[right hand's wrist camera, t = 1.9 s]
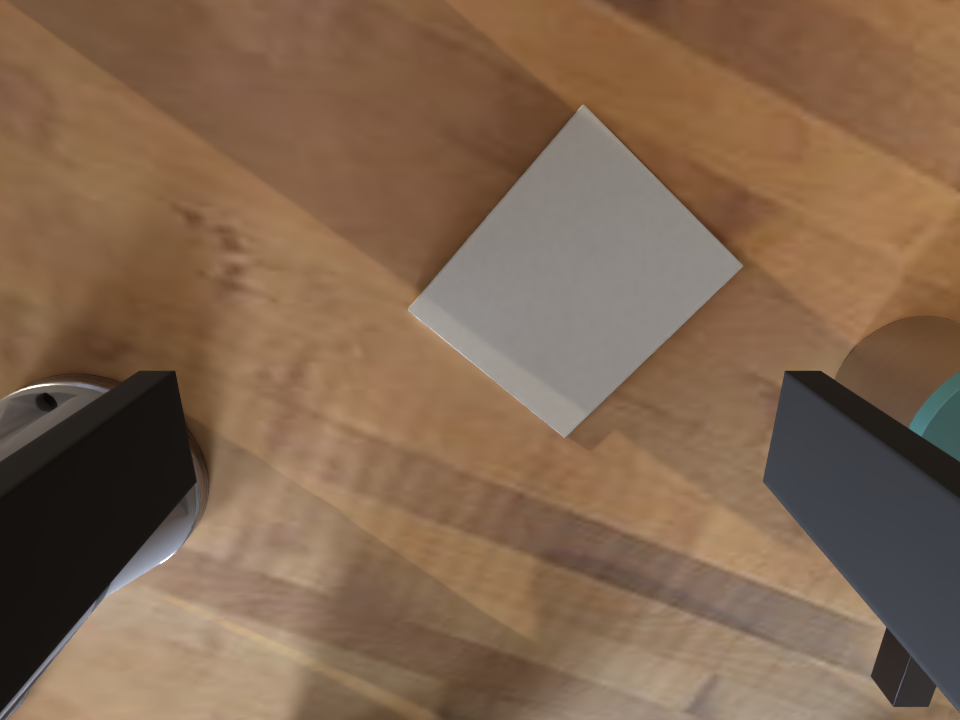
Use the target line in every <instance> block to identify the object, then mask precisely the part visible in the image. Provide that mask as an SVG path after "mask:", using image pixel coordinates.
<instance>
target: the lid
mask: <svg viewBox="0 0 960 720" xmlns="http://www.w3.org/2000/svg"><path fill="white" fill-rule="evenodd" d="M908 428H909V429H910V430H912V431H914V432H915V433H917V434H918V435H920V436H921V437H923V438H924V439H926V440H927V441H929V442H930V443H932V444H933V445H935V446H937V447H938V448H940V449H941V450H943V451H944V452H946V453H947V454H949V455H950V456H952V457H953V458H955V459H956V460H958V461H960V371H959V372H957V373H956V374H954V375H953V376H952V377H950V378H949V379H948V380H946V381H945V382H944V383H943V384H942V385H941V386H940V387H939V388H937V389H936V390H935V391H934V392H933V394H932V395H931V396H930V397H929V398H928V399H927V400H926V401H925V402H924V404H923V405H922V406H921V408H920V409H919V410H918V412H917V413H916V415H915V417H914V418H913V420H912V422H911V423H910V425H909V427H908Z"/></svg>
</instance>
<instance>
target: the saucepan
mask: <svg viewBox="0 0 960 720" xmlns="http://www.w3.org/2000/svg"><path fill="white" fill-rule="evenodd" d="M959 371H960V324H959V323H956V322H954V321H951V320H948V319H945V318H940V317H932V316H921V317H912V318H907V319H903V320H900V321H896V322H894V323H891V324H889V325H886V326H884V327H882V328H881V329H879V330H877V331H875V332H874V333H872V334H871V335H869V336H868V337H867V338H865V339H864V340H863V341H862V342H861V343H860V344H858V345H857V346H856V348H855V349H854V350H853V351H852V352H851V353H850V354H849V356H848V357H847V358H846V359H845V361H844V363H843V364H842V366H841V368H840V369H839V372H838V374H837V376H836V378H835V381H837V382H838V383H840V384H841V385H843V386H844V387H846V388H848V389H849V390H851V391H852V392H854V393H855V394H857V395H858V396H860V397H861V398H863V399H864V400H866V401H867V402H869V403H871V404H872V405H874V406H875V407H877V408H878V409H880V410H881V411H883V412H884V413H886V414H887V415H889V416H891V417H892V418H894V419H895V420H897V421H898V422H900V423H901V424H903V425H904V426H906V427H907V428H908V427H909V425H910V423H911V422H912V420H913V418H914V417H915V415H916V413H917V412H918V410H919V409H920V408H921V406H922V405H923V404H924V402H925V401H926V400H927V399H928V398H929V397H930V396H931V395H932V394H933V392H934V391H935V390H936V389H937V388H939V387H940V386H941V385H942V384H943V383H944V382H945V381H946V380H948V379H949V378H950V377H952V376H953V375H954V374H956V373H957V372H959ZM871 677H872V679H873V680H874V681H875V683H876V684H877V685H878V687H879V688H880V689H881V691H882V692H883V693H884V695H885V696H886V698H887V699H888V700H889V702H890V703H891V704H892V706H893V707H929V704H930V702H931V699H932V696H933V694H934V691H935V688H936V685H935V683H934V682H933V681H932V680H931V679H930V677H929V676H928V675H927V674H926V673H925V672H924V670H923V669H922V668H921V667H920V666H919V665H918V663H917V662H916V661H915V660H914V659H913V657H912V656H911V655H910V654H909V653H908V652H907V650H906V649H905V648H904V647H903V646H902V645H901V643H900V642H899V641H898V640H897V639H896V637H895V636H894V635H893V634H892V633H891V632H890V630H889V629H888V628H887V627H886V631H885V634H884V637H883V640H882V643H881V646H880V649H879V652H878V655H877V658H876V662H875V665H874V668H873V671H872V674H871Z"/></svg>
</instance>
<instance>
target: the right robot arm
mask: <svg viewBox="0 0 960 720" xmlns="http://www.w3.org/2000/svg"><path fill="white" fill-rule="evenodd" d="M763 482H764V483H765V485H766V486H767V487H768V488H769V489H770V490H771V492H772V493H773V494H774V495H775V496H776V498H777V499H778V500H779V501H780V502H781V503H782V505H783V506H784V507H785V508H786V509H787V510H788V512H789V513H790V514H791V515H792V516H793V518H794V519H795V520H796V521H797V522H798V523H799V525H800V526H801V527H802V528H803V529H804V530H805V532H806V533H807V534H808V535H809V536H810V538H811V539H812V540H813V541H814V542H815V543H816V545H817V546H818V547H819V548H820V549H821V550H822V552H823V553H824V554H825V555H826V556H827V558H828V559H829V560H830V561H831V562H832V563H833V565H834V566H835V567H836V568H837V569H838V570H839V572H840V573H841V574H842V575H843V576H844V577H845V579H846V580H847V581H848V582H849V583H850V585H851V586H852V587H853V588H854V589H855V590H856V592H857V593H858V594H859V595H860V596H861V597H862V599H863V600H864V601H865V602H866V603H867V605H868V606H869V607H870V608H871V609H872V610H873V612H874V613H875V614H876V615H877V616H878V617H879V619H880V620H881V621H882V622H883V623H884V625H885V626H886V627H887V628H888V629H889V630H890V632H891V633H892V634H893V635H894V636H895V637H896V639H897V640H898V641H899V642H900V643H901V645H902V646H903V647H904V648H905V649H906V650H907V652H908V653H909V654H910V655H911V656H912V657H913V659H914V660H915V661H916V662H917V663H918V665H919V666H920V667H921V668H922V669H923V670H924V672H925V673H926V674H927V675H928V676H929V677H930V679H931V680H932V681H933V682H934V683H935V685H936V686H937V687H938V688H939V689H940V690H941V692H942V693H943V694H944V695H945V696H946V697H947V699H948V700H949V701H950V702H951V703H952V705H953V706H954V707H955V708H956V709H957V710H958V712H959V713H960V461H958V460H956V459H955V458H953V457H952V456H950V455H949V454H947V453H946V452H944V451H943V450H941V449H940V448H938V447H937V446H935V445H933V444H932V443H930V442H929V441H927V440H926V439H924V438H923V437H921V436H920V435H918V434H917V433H915V432H914V431H912V430H910V429H909V428H907V427H906V426H904V425H903V424H901V423H900V422H898V421H897V420H895V419H894V418H892V417H891V416H889V415H887V414H886V413H884V412H883V411H881V410H880V409H878V408H877V407H875V406H874V405H872V404H871V403H869V402H867V401H866V400H864V399H863V398H861V397H860V396H858V395H857V394H855V393H854V392H852V391H851V390H849V389H848V388H846V387H844V386H843V385H841V384H840V383H838V382H837V381H835V380H834V379H832V378H831V377H829V376H828V375H826V374H825V373H823V372H821V371H785V373H784V378H783V383H782V388H781V393H780V398H779V403H778V408H777V413H776V418H775V424H774V429H773V434H772V439H771V444H770V449H769V454H768V459H767V464H766V469H765V474H764V479H763ZM208 493H209V483H208V474H207V469H206V465H205V462H204V459H203V456H202V454H201V452H200V449H199V447H198V446H197V444H196V442H195V440H194V438H193V437H192V436H191V434H190V433H189V431H188V430H187V429H186V424H185V418H184V413H183V408H182V403H181V398H180V393H179V388H178V383H177V378H176V373H175V371H139V372H137V373H135V374H134V375H132V376H131V377H129V378H128V379H126V380H125V381H123V382H119V381H116V380H113V379H109V378H105V377H101V376H95V375H86V374H64V375H56V376H51V377H47V378H44V379H41V380H38V381H35V382H33V383H31V384H29V385H27V386H25V387H23V388H21V389H19V390H17V391H15V392H13V393H11V394H9V395H8V396H6V397H4V398H3V399H1V400H0V720H5V719H7V718H8V717H9V716H10V715H11V714H12V713H13V712H14V711H15V710H16V709H17V708H18V707H19V706H20V704H21V703H22V702H23V700H24V699H25V697H26V696H27V694H28V692H29V690H30V688H31V687H32V686H33V685H34V683H35V682H36V681H37V680H38V679H39V677H40V676H41V675H42V674H43V672H44V671H45V670H46V669H47V667H48V666H49V665H50V664H51V662H52V661H53V660H54V659H55V658H56V656H57V655H58V654H59V653H60V651H61V650H62V649H63V648H64V646H65V645H66V644H67V643H68V641H69V640H70V639H71V638H72V636H73V635H74V634H75V633H76V632H77V630H78V629H79V628H80V627H81V625H82V624H83V623H84V622H85V620H86V619H87V618H88V616H89V615H90V614H91V613H92V612H93V611H94V609H95V608H96V607H97V606H98V605H99V603H100V602H101V601H102V600H103V599H104V598H105V597H106V596H108V595H110V594H111V593H113V592H115V591H116V590H118V589H119V588H121V587H123V586H124V585H126V584H127V583H129V582H131V581H132V580H134V579H136V578H137V577H139V576H140V575H142V574H144V573H145V572H147V571H148V570H150V569H152V568H153V567H155V566H157V565H158V564H160V563H162V562H163V561H165V560H166V559H168V558H169V557H171V556H172V555H173V554H174V553H175V552H177V550H178V549H179V548H180V547H181V546H182V545H183V544H184V542H185V541H186V540H187V538H188V537H189V536H190V534H191V533H192V532H193V530H194V529H195V528H196V526H197V525H198V523H199V522H200V520H201V518H202V516H203V514H204V511H205V508H206V504H207V500H208Z"/></svg>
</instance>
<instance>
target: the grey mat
mask: <svg viewBox="0 0 960 720" xmlns="http://www.w3.org/2000/svg"><path fill="white" fill-rule="evenodd" d="M742 267H743V265H742V264H741V263H740V262H739V261H738V260H737V259H736V258H735V257H734V256H733V255H732V254H731V253H730V252H729V251H728V249H727V248H726V247H725V246H724V245H723V244H722V243H721V242H720V241H719V240H718V239H717V238H716V237H715V236H714V235H713V234H712V233H711V232H710V231H709V230H708V229H707V228H706V227H705V226H704V225H703V224H702V223H701V222H700V221H699V220H698V219H697V218H696V217H695V216H694V215H693V214H692V213H691V212H690V211H689V210H688V209H687V208H686V207H685V206H684V205H683V204H682V203H681V202H680V201H679V200H678V199H677V198H676V197H675V196H674V195H673V194H672V193H671V192H670V191H669V190H668V189H667V188H666V187H665V186H664V185H663V184H662V183H661V182H660V181H659V180H658V179H657V178H656V177H655V176H654V175H653V174H652V173H651V172H650V171H649V170H648V169H647V168H646V167H645V166H644V165H643V164H642V163H641V162H640V161H639V160H638V159H637V157H636V156H635V155H634V154H633V153H632V152H631V151H630V150H629V149H628V148H627V147H626V146H625V145H624V144H623V143H622V142H621V141H620V140H619V139H618V138H617V137H616V136H615V135H614V134H613V133H612V132H611V131H610V130H609V129H608V128H607V127H606V126H605V125H604V124H603V123H602V122H601V121H600V120H599V119H598V118H597V117H596V116H595V115H594V114H593V113H592V112H591V111H590V110H589V109H588V108H587V107H586V106H585V105H582V106H581V107H580V108H579V109H578V110H577V112H576V113H575V114H574V115H573V116H572V117H571V119H570V120H569V121H568V122H567V123H566V124H565V126H564V127H563V128H562V129H561V130H560V131H559V133H558V134H557V135H556V136H555V137H554V138H553V140H552V141H551V142H550V143H549V144H548V145H547V147H546V148H545V149H544V150H543V151H542V152H541V154H540V155H539V156H538V157H537V158H536V159H535V161H534V162H533V163H532V164H531V165H530V166H529V168H528V169H527V170H526V171H525V172H524V173H523V175H522V176H521V177H520V178H519V179H518V180H517V182H516V183H515V184H514V185H513V186H512V187H511V189H510V190H509V191H508V192H507V193H506V194H505V196H504V197H503V198H502V199H501V200H500V201H499V203H498V204H497V205H496V206H495V207H494V208H493V210H492V211H491V212H490V213H489V214H488V215H487V217H486V218H485V219H484V220H483V221H482V222H481V224H480V225H479V226H478V227H477V228H476V229H475V231H474V232H473V233H472V234H471V235H470V236H469V238H468V239H467V240H466V241H465V242H464V243H463V245H462V246H461V247H460V248H459V249H458V250H457V252H456V253H455V254H454V255H453V256H452V257H451V259H450V260H449V261H448V262H447V263H446V264H445V266H444V267H443V268H442V269H441V270H440V272H439V273H438V274H437V275H436V276H435V277H434V279H433V280H432V281H431V282H430V283H429V284H428V286H427V287H426V288H425V289H424V290H423V291H422V293H421V294H420V295H419V296H418V297H417V298H416V300H415V301H414V302H413V303H412V304H411V305H410V307H409V308H408V311H409V312H411V313H412V314H413V315H414V316H416V317H417V318H418V319H419V320H420V321H422V322H423V323H424V324H425V325H427V326H428V327H429V328H430V329H431V330H433V331H434V332H435V333H436V334H438V335H439V336H440V337H441V338H443V339H444V340H445V341H446V342H447V343H449V344H450V345H451V346H452V347H454V348H455V349H456V350H457V351H458V352H460V353H461V354H462V355H463V356H465V357H466V358H467V359H468V360H469V361H471V362H472V363H473V364H474V365H476V366H477V367H478V368H479V369H481V370H482V371H483V372H484V373H485V374H487V375H488V376H489V377H490V378H492V379H493V380H494V381H495V382H496V383H498V384H499V385H500V386H501V387H503V388H504V389H505V390H506V391H508V392H509V393H510V394H511V395H512V396H514V397H515V398H516V399H517V400H519V401H520V402H521V403H522V404H523V405H525V406H526V407H527V408H528V409H530V410H531V411H532V412H533V413H535V414H536V415H537V416H538V417H539V418H541V419H542V420H543V421H544V422H546V423H547V424H548V425H549V426H550V427H552V428H553V429H554V430H555V431H557V432H558V433H559V434H560V435H561V436H563V437H564V438H565V437H566V436H567V435H568V434H569V433H571V432H572V431H573V430H574V429H575V428H576V427H577V426H578V425H579V424H580V423H581V422H582V421H583V420H584V419H585V418H586V417H587V416H588V415H589V414H590V413H591V412H592V411H593V410H594V409H595V408H597V407H598V406H599V405H600V404H601V403H602V402H603V401H604V400H605V399H606V398H607V397H608V396H609V395H610V394H611V393H612V392H613V391H614V390H615V389H616V388H617V387H618V386H619V385H620V384H621V383H623V382H624V381H625V380H626V379H627V378H628V377H629V376H630V375H631V374H632V373H633V372H634V371H635V370H636V369H637V368H638V367H639V366H640V365H641V364H642V363H643V362H644V361H645V360H646V359H647V358H648V357H650V356H651V355H652V354H653V353H654V352H655V351H656V350H657V349H658V348H659V347H660V346H661V345H662V344H663V343H664V342H665V341H666V340H667V339H668V338H669V337H670V336H671V335H672V334H673V333H674V332H676V331H677V330H678V329H679V328H680V327H681V326H682V325H683V324H684V323H685V322H686V321H687V320H688V319H689V318H690V317H691V316H692V315H693V314H694V313H695V312H696V311H697V310H698V309H699V308H700V307H702V306H703V305H704V304H705V303H706V302H707V301H708V300H709V299H710V298H711V297H712V296H713V295H714V294H715V293H716V292H717V291H718V290H719V289H720V288H721V287H722V286H723V285H724V284H725V283H726V282H728V281H729V280H730V279H731V278H732V277H733V276H734V275H735V274H736V273H737V272H738V271H739V270H740V269H741V268H742Z"/></svg>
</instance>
